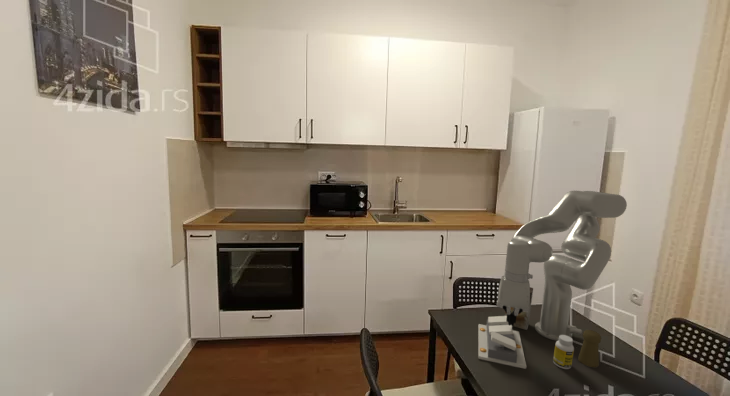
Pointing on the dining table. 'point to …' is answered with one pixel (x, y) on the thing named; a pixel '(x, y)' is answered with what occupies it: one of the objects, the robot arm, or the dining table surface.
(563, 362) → the supplement bottle
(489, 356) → the switch unit
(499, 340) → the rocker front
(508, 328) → the rocker middle
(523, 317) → the coffee box
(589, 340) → the cork
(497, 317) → the rocker back
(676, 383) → the dining table surface
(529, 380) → the dining table surface
